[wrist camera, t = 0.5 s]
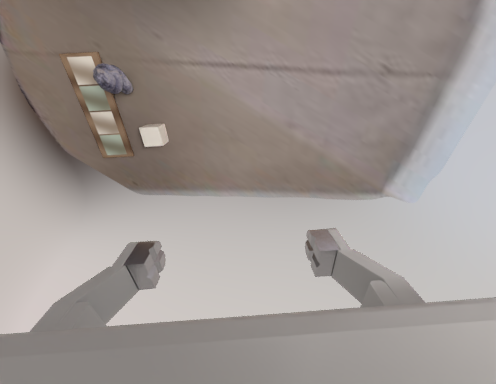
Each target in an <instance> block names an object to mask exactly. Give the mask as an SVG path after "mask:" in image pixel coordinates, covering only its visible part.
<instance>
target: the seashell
mask: <svg viewBox="0 0 496 384" xmlns="http://www.w3.org/2000/svg"><path fill="white" fill-rule="evenodd" d="M93 72H94V73H93V78H94V80H95V81H96V82H97V83H98V85H99V86H100V87H101V88H102V89H103V90H105V91H107V92H110V93H112V94H118V93H119V92H123V93H125V94H130V93H131V92H132V90H133V87H132V84H131V82H130V81H129V80H128V78H127V77H126V75H125V74H124V73H123V71H121V70H120V69H119V68H118V67H116V66H114V65H108V64H104V63H103V64H102V63H101V64H98V65H97V66H96V67H95V68H94V70H93Z"/></svg>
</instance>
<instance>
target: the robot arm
mask: <svg viewBox="0 0 496 384" xmlns="http://www.w3.org/2000/svg"><path fill="white" fill-rule="evenodd" d="M307 238H308V240H307V242H306V246H305V249H306V254H307V257H308V259H309V260H310V261H311V267H312V270H313V272H314V274H315V277H317V276H332V278H334V279H335V280H336V281H337V282H338V283H339V284H340V285H341V286H342V287H344V288H345V289H346V290H347V291H348V292H349V293H350V294H351V295H353V296H354V297H355V298H356V299H357V300H358V301H359V302H360V303H361V304H362V305H361V307H360V308H348V309H334V310H321V311H307V312H296V313H295V312H294V313H282V314H268V315H256V316H242V317H229V318H214V319H201V320H189V321H188V320H187V321H175V322H160V323H147V324H134V325H120V326H106V325H105V324H106V323H107V322H108V321H109V320H110V319H111V318H112V317H113V316H114V315H115V314H116V313H117V312H118V311H119V310H120V309H121V308H122V307H123V306H124V305H125V304H126V303H127V302H128V301H129V300H130V299H131V298H132V297H133V296H134V295H135V294H136V293H137V292H138V291H139V290H143V289H152V288H156V285H157V283H158V280H159V278H160V276H159V272H161V271H162V270H163V268H164V265H165V254H164V252H163V251H161V250H160V249H161V244H160V242H159V241H148V242H131V243H129V244H128V245H127V246H126V247H125V249H124V250H123V252H122V253H121V254H120V256H119V257H118V259H117V260H116V261H115V263H114V264H113V266H112V267H108V268H106V269H105V270H103V271H102V272H100V273H99V274H97V275H96V276H94V277H93V278H91V279H90V280H88V281H87V282H85V283H84V284H82V285H81V286H79V287H78V288H76V289H75V290H74V291H72V292H70V293H69V294H67V295H66V296H64V297H63V298H61V299H60V300H58V301H57V302H55V303H54V304H53V305H52V306H51V307H50V309H49V310H48V311H47V312H46V313H45V315H44V316H43V317H42V318H41V319H40V320H39V321H38V323H37V324H36V325H35V326H34V327H33V328H32V330H31V331H30V332H26V333H13V334H0V384H496V297H494V298H482V299H468V300H455V301H443V302H428V303H425V302H424V301H423V300H422V298H421V297H420V296H419V295H418V294H417V292H416V291H415V290H414V289H413V288H412V287H411V286H410V284H409V283H408V282H407V281H406V280H405V279H404V278H403V277H401V276H400V275H398V274H396V273H395V272H393V271H391V270H389V269H388V268H386V267H384V266H382V265H381V264H379V263H377V262H375V261H373V260H372V259H370V258H368V257H367V256H365V255H363V254H361V253H360V252H358V251H356V250H354V249H350V247H349V246H348V244H347V243H346V241H345V240H344V239H343V237H342V236H341V234H340V233H339V231H338V230H337V229H336V228H330V229H320V230H308V231H307Z"/></svg>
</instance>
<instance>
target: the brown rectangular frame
mask: <svg viewBox="0 0 496 384" xmlns="http://www.w3.org/2000/svg"><path fill="white" fill-rule="evenodd" d="M59 56H60V58H61V60H62V63H63V65H64V67H65V70H66V72H67V74H68V77H69V79H70V81H71V84H72V86H73V88H74V91H75V93H76V95H77V98H78V100H79V102H80V105H81V107H82V109H83V112H84V114H85V116H86V119H87V121H88V123H89V126H90V128H91V130H92V133H93V135H94V137H95V140H96V142H97V144H98V147H99V149H100V151H101V154H102V156H103V158H110V157H127V156H134V154H133V151H132V148H131V145H130V142H129V139H128V136H127V133H126V130H125V128H124V125H123V122H122V119H121V116H120V113H119V110H118V107H117V104H116V102H115V99H114V96H113V94H112V93H110V92H107V91H105V90H103V89H102V88H101V87H100V86H99V85H98V83H97V82H96V81H95V80H94V78H93V73H94V72H93V70H94V68H95V67H96V66H97V65H98V64H101V63H102V61H101V58H100V55H99V52H87V53H67V54H59Z"/></svg>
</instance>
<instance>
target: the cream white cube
mask: <svg viewBox="0 0 496 384" xmlns="http://www.w3.org/2000/svg"><path fill="white" fill-rule="evenodd" d="M139 130H140V133H141V136H142V140H143V143H144V146H145V147H152V146H164V145H165V144H166V143H167V142H169V140H168V136H167V132H166V128H165V124H149V125H145V126H142V127H140V128H139Z"/></svg>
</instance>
